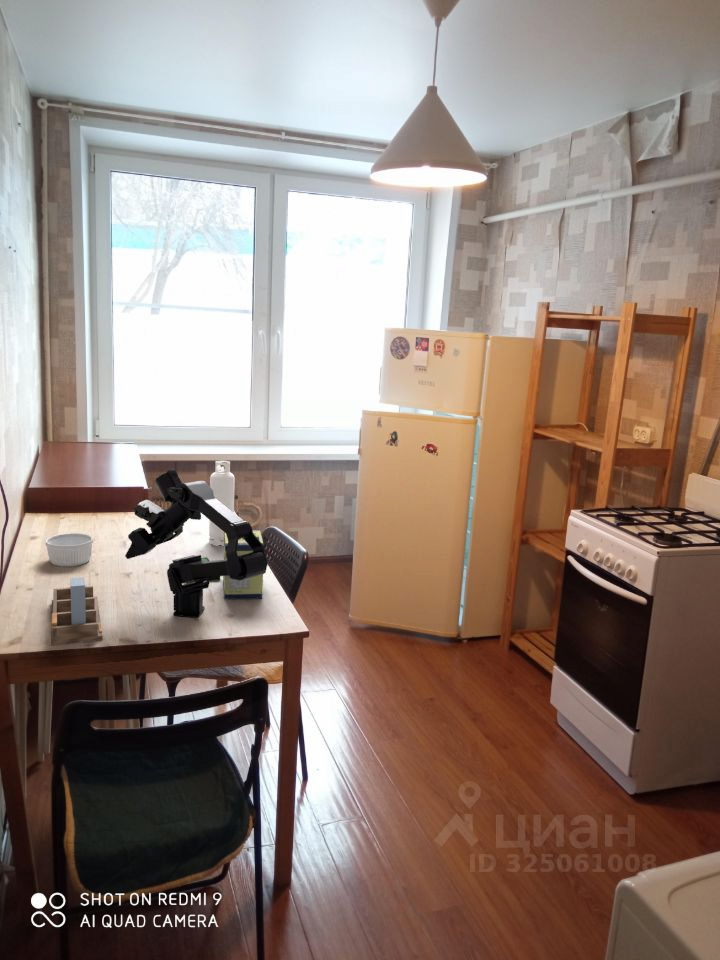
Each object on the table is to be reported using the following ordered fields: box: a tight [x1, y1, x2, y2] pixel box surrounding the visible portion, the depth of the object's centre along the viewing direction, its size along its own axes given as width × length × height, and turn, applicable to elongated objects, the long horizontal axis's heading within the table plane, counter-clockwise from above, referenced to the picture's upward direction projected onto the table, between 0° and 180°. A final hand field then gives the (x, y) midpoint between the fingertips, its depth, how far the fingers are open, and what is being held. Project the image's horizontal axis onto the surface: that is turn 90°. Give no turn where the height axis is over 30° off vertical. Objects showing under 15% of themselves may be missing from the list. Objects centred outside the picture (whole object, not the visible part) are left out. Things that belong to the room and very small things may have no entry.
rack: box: [50, 585, 103, 646], centre depth 173 cm, size 11×25×5 cm, turn 23°
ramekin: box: [45, 532, 94, 567], centre depth 214 cm, size 13×13×7 cm
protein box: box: [222, 529, 265, 600], centre depth 199 cm, size 10×16×16 cm
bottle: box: [208, 460, 236, 546], centre depth 238 cm, size 8×8×28 cm
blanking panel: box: [69, 576, 86, 625], centre depth 165 cm, size 3×6×12 cm, turn 23°
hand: (136, 552), depth 184 cm, fingers open, 9 cm apart
